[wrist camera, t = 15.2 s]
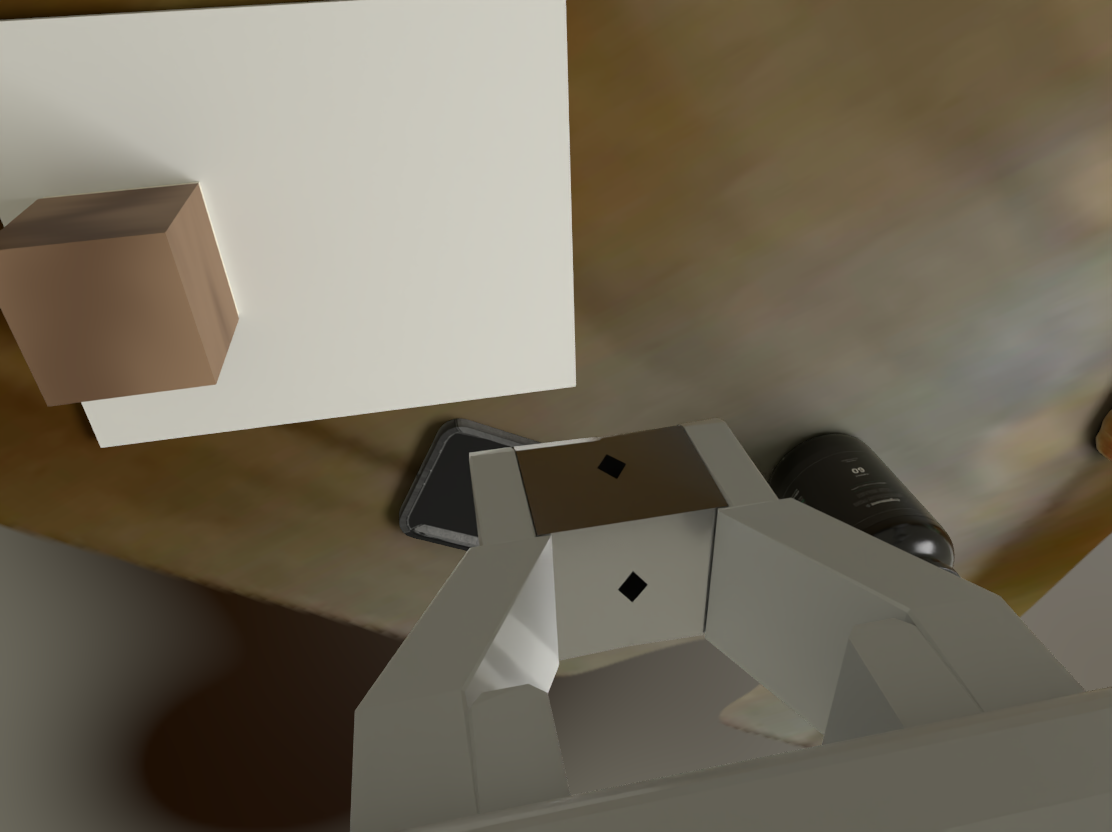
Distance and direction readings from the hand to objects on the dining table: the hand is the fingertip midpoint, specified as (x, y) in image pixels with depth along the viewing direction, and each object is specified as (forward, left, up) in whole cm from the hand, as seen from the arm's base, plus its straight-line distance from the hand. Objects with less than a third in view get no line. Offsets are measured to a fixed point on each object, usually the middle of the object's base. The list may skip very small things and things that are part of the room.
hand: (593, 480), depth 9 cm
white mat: (+6, +6, -27) cm, 28 cm away
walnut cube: (+13, +6, -20) cm, 25 cm away
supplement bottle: (-20, +24, -27) cm, 41 cm away
